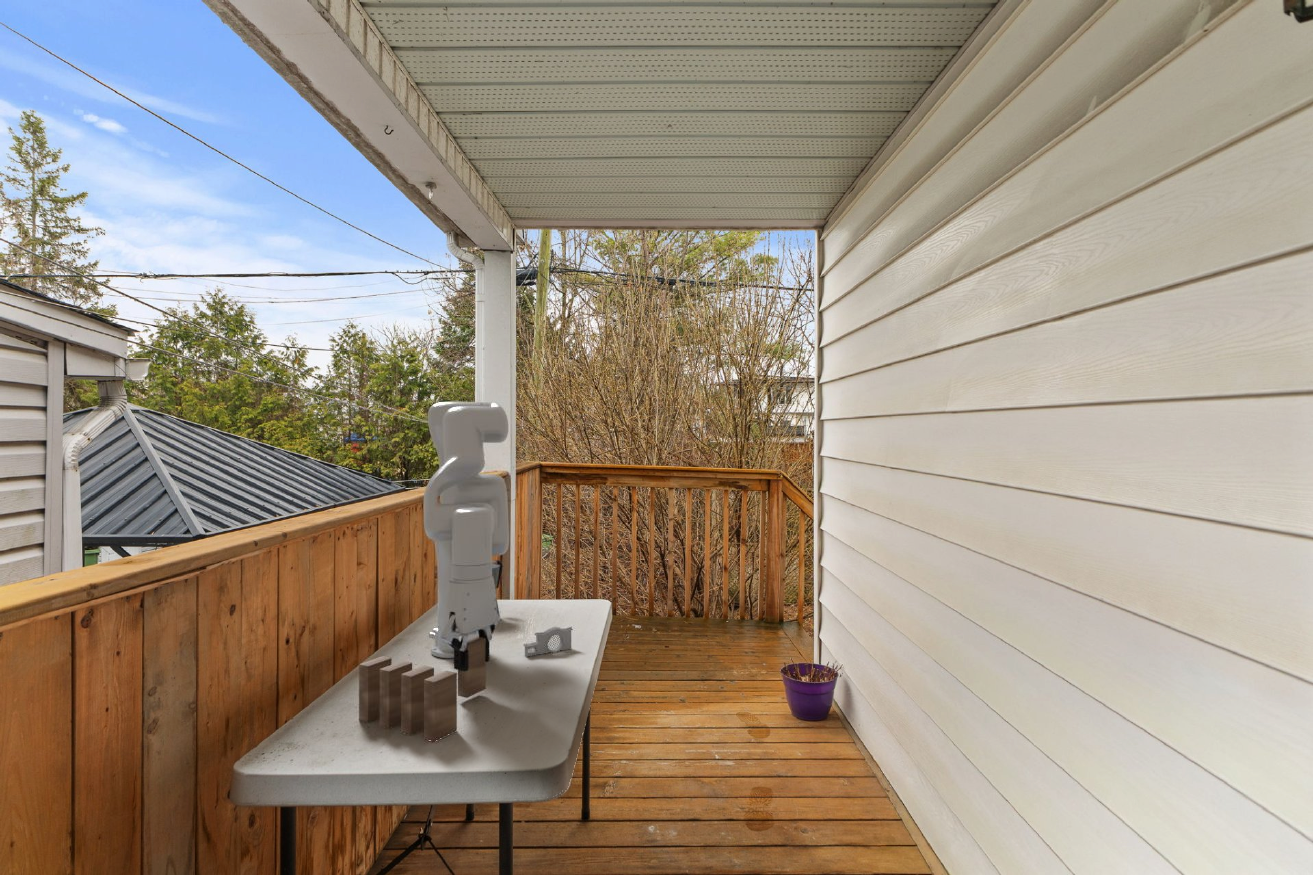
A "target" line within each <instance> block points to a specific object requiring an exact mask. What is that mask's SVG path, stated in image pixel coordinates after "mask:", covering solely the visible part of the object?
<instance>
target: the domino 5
mask: <svg viewBox="0 0 1313 875" xmlns="http://www.w3.org/2000/svg"><path fill="white" fill-rule="evenodd" d="M466 650H468V670H467V671H461V670H457V697H460V698H465V699H468V698H470V697H472V696H474V695H476V694H479V693H480V692H483V691H484V690H486V689H487V688H486V687H487V686H486V684H487V682H486V681H487V680H486V679H487V677H486V676H487V675H486V674H487V673H486V672H487V667H486V665H487V662H485V655H486V638H482V637H474V638H471V639H469V640H467V645H466Z"/></svg>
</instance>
